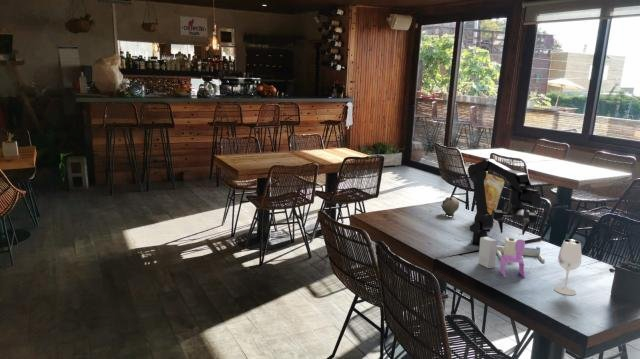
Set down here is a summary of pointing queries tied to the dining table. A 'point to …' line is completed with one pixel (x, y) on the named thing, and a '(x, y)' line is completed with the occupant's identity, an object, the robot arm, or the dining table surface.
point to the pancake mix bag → (493, 191)
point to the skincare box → (487, 252)
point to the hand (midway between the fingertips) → (512, 233)
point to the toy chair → (514, 258)
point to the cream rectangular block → (509, 246)
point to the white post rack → (527, 251)
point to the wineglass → (569, 262)
